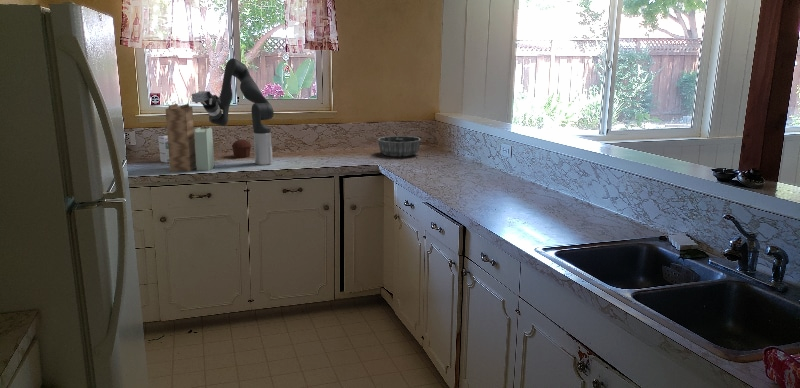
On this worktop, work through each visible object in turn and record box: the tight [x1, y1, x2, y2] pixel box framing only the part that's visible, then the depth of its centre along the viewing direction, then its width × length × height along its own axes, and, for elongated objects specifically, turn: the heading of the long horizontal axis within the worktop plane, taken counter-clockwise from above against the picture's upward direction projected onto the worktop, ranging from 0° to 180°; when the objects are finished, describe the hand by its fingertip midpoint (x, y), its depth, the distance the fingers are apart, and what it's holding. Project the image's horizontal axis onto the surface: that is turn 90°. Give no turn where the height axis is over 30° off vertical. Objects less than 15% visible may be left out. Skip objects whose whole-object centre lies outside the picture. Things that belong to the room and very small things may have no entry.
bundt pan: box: [376, 135, 422, 158], centre depth 368 cm, size 26×26×10 cm
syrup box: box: [157, 134, 170, 163], centre depth 337 cm, size 6×6×14 cm
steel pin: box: [191, 90, 211, 103], centre depth 312 cm, size 4×20×4 cm, turn 3°
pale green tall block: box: [194, 127, 215, 171], centre depth 318 cm, size 6×12×21 cm, turn 3°
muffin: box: [231, 138, 252, 159], centre depth 355 cm, size 12×11×10 cm
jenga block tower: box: [165, 103, 197, 172], centre depth 314 cm, size 10×12×34 cm
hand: (203, 93), depth 317 cm, fingers closed on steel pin, 4 cm apart
